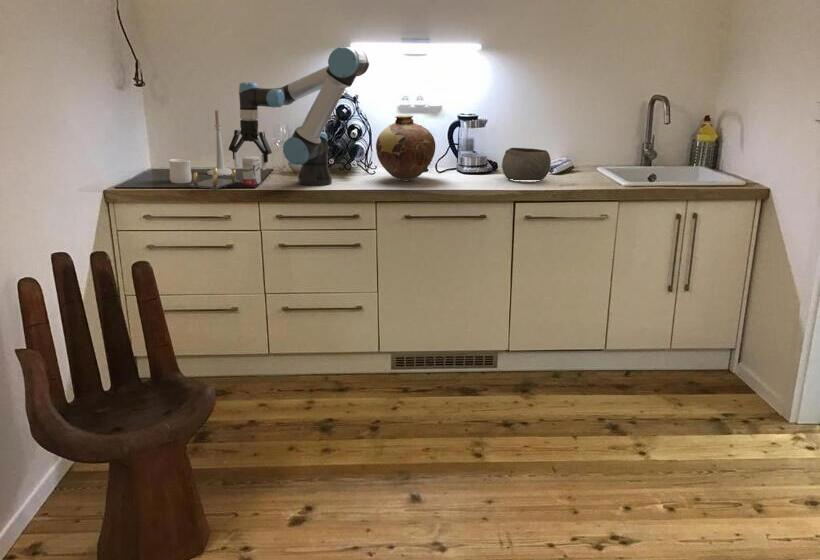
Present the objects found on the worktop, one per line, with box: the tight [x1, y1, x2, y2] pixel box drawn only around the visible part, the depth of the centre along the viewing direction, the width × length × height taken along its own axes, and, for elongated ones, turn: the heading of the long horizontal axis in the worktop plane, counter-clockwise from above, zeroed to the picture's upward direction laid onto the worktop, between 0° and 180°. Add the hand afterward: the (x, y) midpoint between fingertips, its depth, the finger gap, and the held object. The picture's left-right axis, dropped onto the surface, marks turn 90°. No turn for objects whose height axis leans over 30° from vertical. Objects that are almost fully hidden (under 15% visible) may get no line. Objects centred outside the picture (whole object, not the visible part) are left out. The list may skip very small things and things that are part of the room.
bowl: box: [501, 147, 552, 181], centre depth 331 cm, size 23×23×15 cm
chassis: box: [188, 167, 241, 190], centre depth 304 cm, size 14×18×6 cm
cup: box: [168, 157, 193, 184], centre depth 309 cm, size 10×10×10 cm
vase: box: [375, 114, 436, 181], centre depth 321 cm, size 28×27×30 cm
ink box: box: [241, 155, 262, 186], centre depth 307 cm, size 9×5×12 cm, turn 168°
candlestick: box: [206, 110, 232, 177], centre depth 329 cm, size 13×13×30 cm
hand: (250, 168), depth 307 cm, fingers open, 13 cm apart
